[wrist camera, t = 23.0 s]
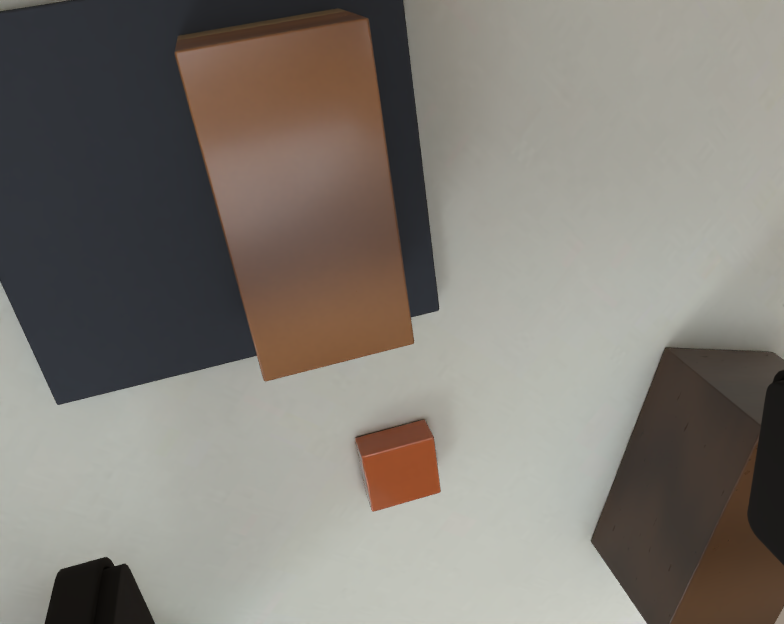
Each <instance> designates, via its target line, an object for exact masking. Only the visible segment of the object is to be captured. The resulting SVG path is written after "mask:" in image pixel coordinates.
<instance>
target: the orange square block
mask: <svg viewBox="0 0 784 624" xmlns="http://www.w3.org/2000/svg"><path fill="white" fill-rule="evenodd" d="M355 441H356V446H357V451H358V456H359V461H360V466H361V471H362V476H363V481H364V486H365V491H366V495H367V498H368V501H369V504H370V507H371V510H372V511H373V512H374V511H377V510H381V509H384V508H388V507H391V506H395V505H398V504H402V503H405V502H409V501H412V500H416V499H419V498H423V497H426V496H430V495H433V494H437V493H440V492H441V489H440V481H439V473H438V466H437V458H436V450H435V443H434V437H433V435H432V433H431V431H430V429H429V427H428V425H427V423H426V421H425V420H420V421H416V422H412V423H409V424H405V425H401V426H397V427H394V428H390V429H386V430H383V431H379V432H375V433H371V434H368V435H364V436H360V437H357V438H356V439H355Z"/></svg>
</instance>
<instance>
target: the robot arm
mask: <svg viewBox="0 0 784 624" xmlns="http://www.w3.org/2000/svg"><path fill="white" fill-rule="evenodd" d="M747 517H748V522H749V525H750V527H751V529H752V531H753V533H754V534H755V535H756V537H757V538H758V539H759V540H760V541H761V542H762V543H763V544H764V545H765V546H766V547H767V549H768V550H769V551H770V552H771V553H772V554H773V555H774V556H775V557H776V558H777V559H778V560H779V561H780V562H781V563H782V564H783V565H784V370H781V371H778V373H777V374H776V375H775V376H774V379H773V382H772V383H771V384H770V385H769V386H768V388H767V391H766V396H765V402H764V409H763V415H762V421H761V428H760V434H759V441H758V447H757V453H756V460H755V466H754V473H753V479H752V486H751V492H750V498H749V505H748V511H747ZM45 624H155V622H154V620H153V618H152V616H151V614H150V611H149V609H148V607H147V605H146V603H145V601H144V598H143V596H142V594H141V592H140V590H139V588H138V585H137V583H136V581H135V579H134V577H133V575H132V573H131V570H130V569H129V567H128V565H126V564H122V565H118V566H114V564H113V563H112V561H111V560H110V559H109V558H108V557H104V558H100V559H97V560H93V561H89V562H86V563H82V564H78V565H75V566H71V567H68V568H64V569H61V570H60V571H59V572H58V573H57V576H56V579H55V582H54V586H53V591H52V595H51V599H50V603H49V608H48V612H47V616H46V620H45Z"/></svg>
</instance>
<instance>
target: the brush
mask: <svg viewBox="0 0 784 624" xmlns="http://www.w3.org/2000/svg"><path fill="white" fill-rule="evenodd" d="M175 58H176V61H177V65H178V69H179V72H180V76H181V80H182V83H183V87H184V91H185V94H186V98H187V102H188V105H189V109H190V113H191V116H192V120H193V124H194V127H195V131H196V135H197V138H198V142H199V146H200V149H201V153H202V156H203V160H204V164H205V167H206V171H207V175H208V178H209V182H210V186H211V189H212V193H213V197H214V200H215V204H216V208H217V211H218V215H219V219H220V222H221V226H222V230H223V233H224V237H225V241H226V244H227V248H228V252H229V255H230V259H231V262H232V266H233V270H234V273H235V277H236V281H237V284H238V288H239V292H240V295H241V299H242V303H243V306H244V310H245V314H246V317H247V321H248V325H249V328H250V332H251V336H252V339H253V343H254V347H255V350H256V354H257V358H258V361H259V365H260V369H261V372H262V376H263V379H264V381H269V380H273V379H277V378H281V377H285V376H289V375H293V374H297V373H301V372H304V371H308V370H312V369H316V368H320V367H324V366H328V365H332V364H336V363H340V362H344V361H348V360H352V359H355V358H359V357H363V356H367V355H371V354H375V353H379V352H383V351H387V350H391V349H395V348H399V347H403V346H407V345H410V344H413V343H414V337H413V330H412V323H411V316H410V309H409V301H408V294H407V287H406V280H405V273H404V266H403V259H402V252H401V245H400V237H399V230H398V223H397V216H396V209H395V202H394V195H393V188H392V181H391V174H390V166H389V159H388V152H387V145H386V138H385V131H384V124H383V117H382V110H381V103H380V95H379V88H378V81H377V74H376V67H375V60H374V53H373V46H372V39H371V31H370V24H369V19H368V18H366V17H363V16H360V15H357V14H354V13H351V12H348V11H345V10H342V9H339V8H337V9H331V10H325V11H319V12H313V13H307V14H302V15H296V16H290V17H284V18H278V19H273V20H267V21H261V22H255V23H249V24H243V25H238V26H232V27H226V28H220V29H214V30H209V31H203V32H197V33H191V34H185V35H179V36H178V38H177V43H176V48H175Z"/></svg>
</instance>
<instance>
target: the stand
mask: <svg viewBox="0 0 784 624" xmlns="http://www.w3.org/2000/svg"><path fill="white" fill-rule="evenodd" d="M781 370H784V359H782V358H781V357H779V356H778V355H776V354H775V353H773V352H755V351H731V350H706V349H682V348H665V350H664V353H663V355H662V358H661V361H660V363H659V366H658V368H657V371H656V374H655V376H654V379H653V381H652V384H651V387H650V389H649V392H648V394H647V397H646V400H645V402H644V405H643V407H642V410H641V413H640V415H639V418H638V420H637V423H636V426H635V428H634V431H633V433H632V436H631V439H630V441H629V444H628V446H627V449H626V452H625V454H624V457H623V460H622V462H621V465H620V467H619V470H618V473H617V475H616V478H615V480H614V483H613V486H612V488H611V491H610V493H609V496H608V499H607V501H606V504H605V506H604V509H603V512H602V514H601V517H600V519H599V522H598V525H597V527H596V530H595V532H594V535H593V538H592V540H591V542H592V544H593V545H594V547H595V548H596V550H597V551H598V553H599V554H600V555H601V557H602V558H603V560H604V561H605V563H606V564H607V566H608V567H609V569H610V570H611V572H612V573H613V574H614V576H615V577H616V579H617V580H618V582H619V583H620V585H621V586H622V588H623V589H624V591H625V592H626V593H627V595H628V596H629V598H630V599H631V601H632V602H633V604H634V605H635V607H636V608H637V610H638V611H639V612H640V614H641V615H642V617H643V618H644V620H645V621H646V623H647V624H774V623H775V621H776V620H777V618H778V616H779V614H780V612H781V611H782V609H783V607H784V565H783V564H782V563H781V562H780V561H779V560H778V559H777V558H776V557H775V556H774V555H773V554H772V553H771V552H770V551H769V550H768V549H767V547H766V546H765V545H764V544H763V543H762V542H761V541H760V540H759V539H758V538H757V537H756V535H755V534H754V533H753V531H752V529H751V527H750V525H749V522H748V517H747V511H748V505H749V498H750V492H751V486H752V479H753V473H754V466H755V460H756V453H757V447H758V441H759V434H760V428H761V421H762V415H763V409H764V402H765V396H766V391H767V388H768V386H769V385H770V384H771V383H772V382H773V379H774V376H775V375H776V374H777V373H778V371H781Z"/></svg>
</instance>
